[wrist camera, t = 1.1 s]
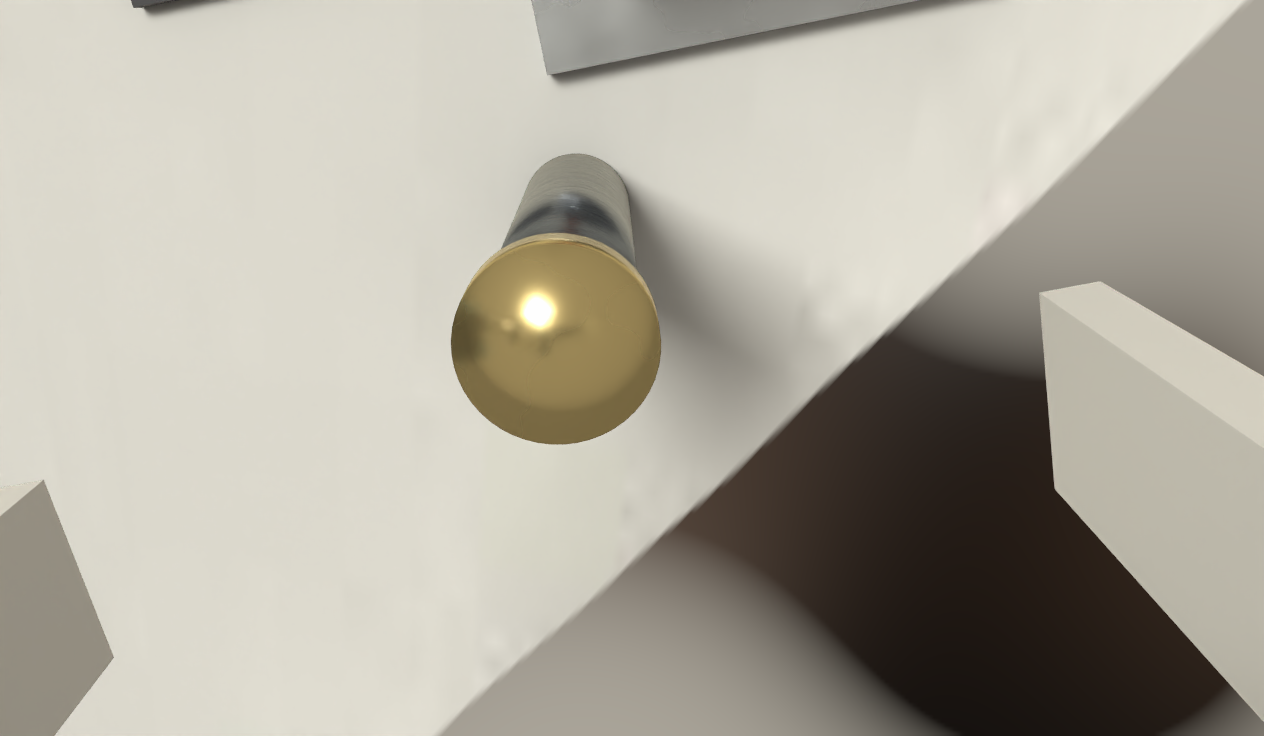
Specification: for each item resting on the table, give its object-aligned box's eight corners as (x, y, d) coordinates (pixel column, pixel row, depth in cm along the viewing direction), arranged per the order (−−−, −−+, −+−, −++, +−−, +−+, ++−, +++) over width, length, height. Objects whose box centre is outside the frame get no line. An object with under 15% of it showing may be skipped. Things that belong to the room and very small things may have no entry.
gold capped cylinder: (529, 278, 34) (478, 461, 21) (501, 156, 33) (428, 266, 20) (649, 254, 34) (677, 423, 21) (625, 132, 33) (639, 225, 19)
